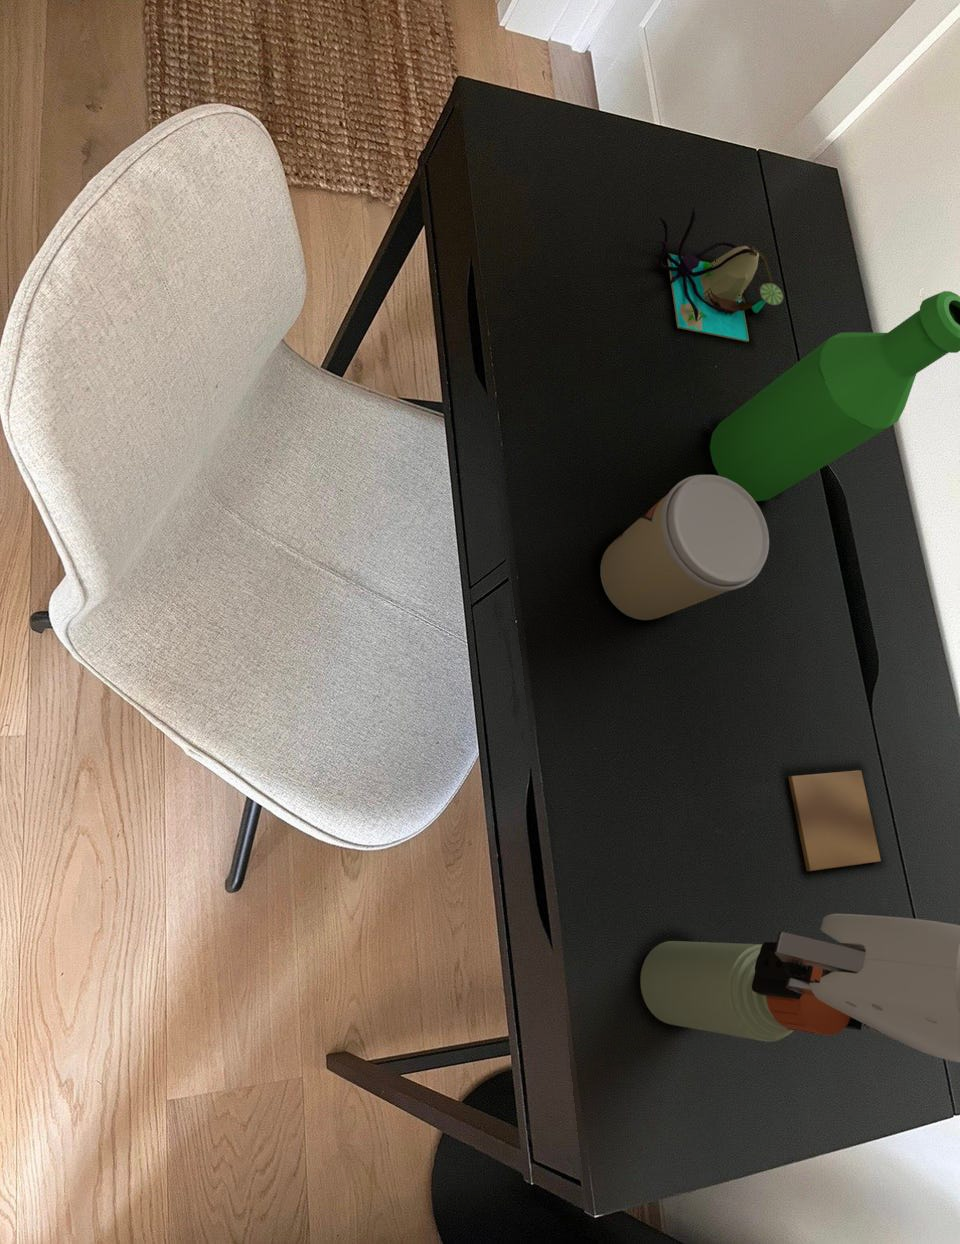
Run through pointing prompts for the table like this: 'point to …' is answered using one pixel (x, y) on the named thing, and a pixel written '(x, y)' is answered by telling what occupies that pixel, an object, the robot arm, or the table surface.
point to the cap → (807, 1012)
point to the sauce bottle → (708, 989)
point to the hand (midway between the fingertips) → (790, 982)
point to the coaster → (834, 820)
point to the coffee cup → (686, 549)
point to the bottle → (831, 400)
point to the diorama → (715, 288)
